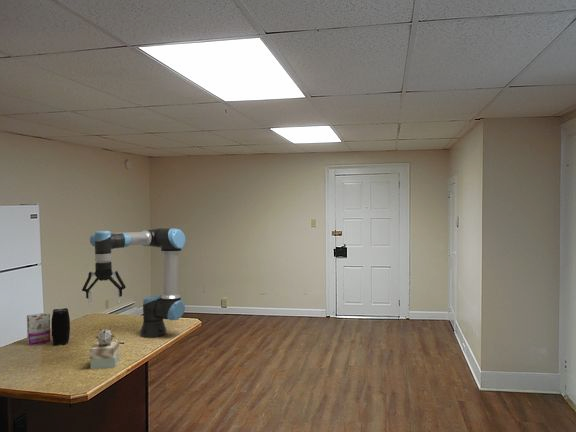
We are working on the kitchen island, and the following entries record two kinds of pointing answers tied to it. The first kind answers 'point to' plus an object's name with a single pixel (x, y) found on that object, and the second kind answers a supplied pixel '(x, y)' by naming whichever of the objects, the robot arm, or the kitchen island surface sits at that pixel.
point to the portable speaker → (60, 326)
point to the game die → (105, 337)
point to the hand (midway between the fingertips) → (104, 304)
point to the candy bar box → (38, 328)
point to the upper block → (104, 350)
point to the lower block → (104, 362)
